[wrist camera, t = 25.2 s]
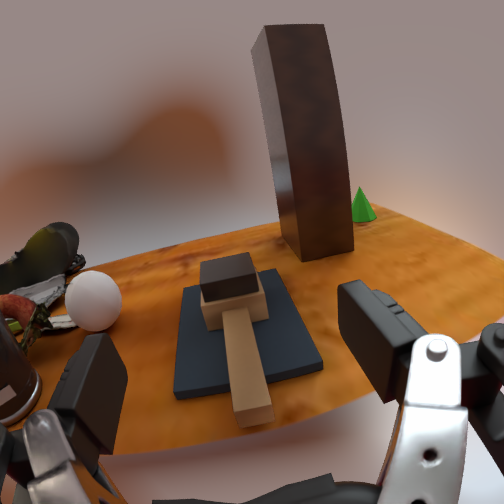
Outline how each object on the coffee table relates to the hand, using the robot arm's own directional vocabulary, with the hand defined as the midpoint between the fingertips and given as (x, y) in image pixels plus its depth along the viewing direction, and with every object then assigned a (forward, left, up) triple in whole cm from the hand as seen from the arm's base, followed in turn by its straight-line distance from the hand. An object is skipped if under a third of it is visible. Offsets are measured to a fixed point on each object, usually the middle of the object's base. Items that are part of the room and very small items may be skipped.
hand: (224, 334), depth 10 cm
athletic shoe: (-38, +36, -2) cm, 52 cm away
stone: (-40, +34, -10) cm, 53 cm away
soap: (-25, +24, -10) cm, 36 cm away
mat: (0, +18, -12) cm, 21 cm away
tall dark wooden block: (+14, +35, -12) cm, 39 cm away
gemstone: (+26, +42, -12) cm, 50 cm away
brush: (0, +13, -11) cm, 17 cm away
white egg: (-16, +26, -7) cm, 31 cm away
